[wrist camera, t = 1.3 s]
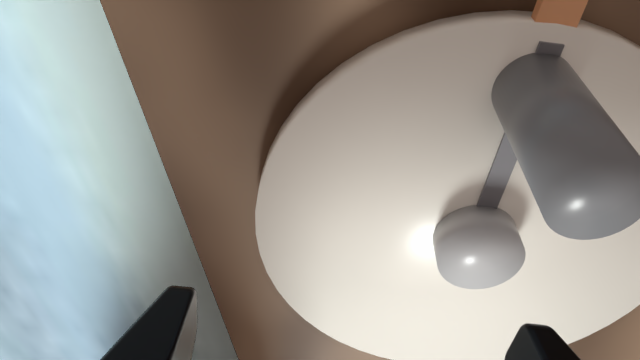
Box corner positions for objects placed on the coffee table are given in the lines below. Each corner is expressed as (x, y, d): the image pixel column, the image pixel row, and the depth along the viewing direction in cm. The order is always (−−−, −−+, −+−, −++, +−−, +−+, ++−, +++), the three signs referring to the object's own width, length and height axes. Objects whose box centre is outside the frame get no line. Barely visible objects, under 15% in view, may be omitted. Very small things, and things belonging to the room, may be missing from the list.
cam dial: (586, 362, 26) (644, 503, 21) (249, 328, 25) (227, 466, 20) (843, -3, 15) (1084, 106, 10) (276, -81, 15) (243, -4, 10)
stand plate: (253, 364, 30) (243, 435, 27) (101, -58, 17) (44, -17, 14) (680, 339, 27) (725, 414, 24) (891, -177, 14) (1049, -161, 11)
